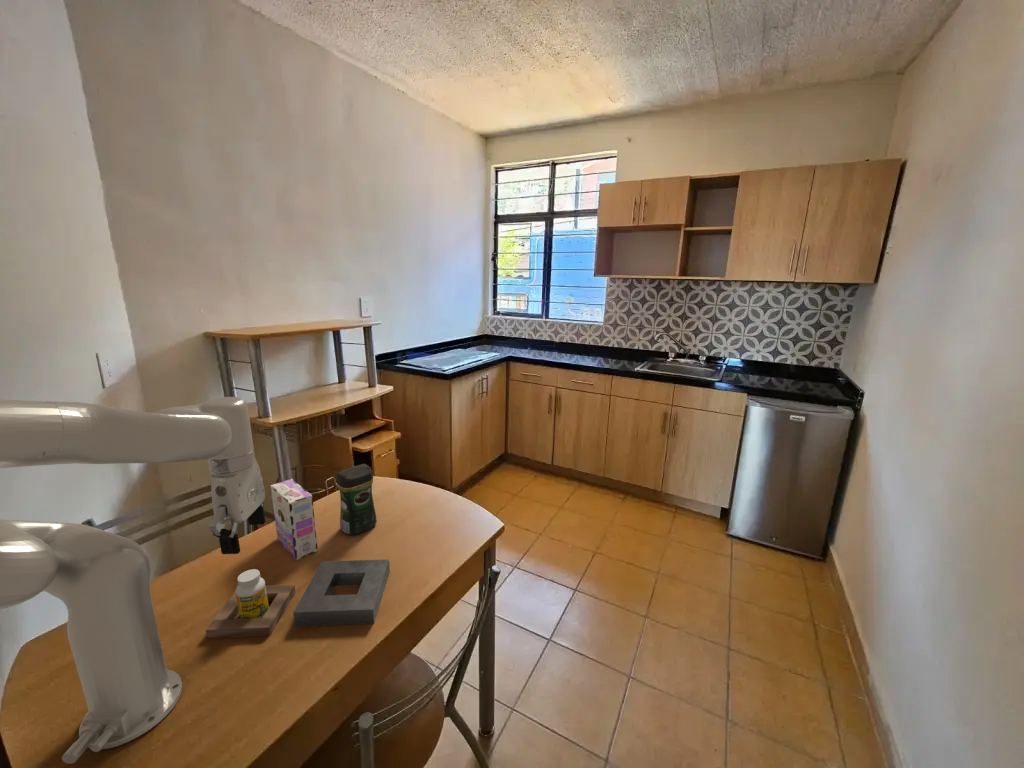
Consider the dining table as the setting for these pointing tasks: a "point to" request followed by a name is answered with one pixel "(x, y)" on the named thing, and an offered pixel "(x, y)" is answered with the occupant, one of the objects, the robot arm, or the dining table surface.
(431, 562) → the dining table surface
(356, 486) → the coffee jar
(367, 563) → the block
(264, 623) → the walnut frame
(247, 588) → the supplement bottle
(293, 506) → the candy box
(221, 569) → the dining table surface
